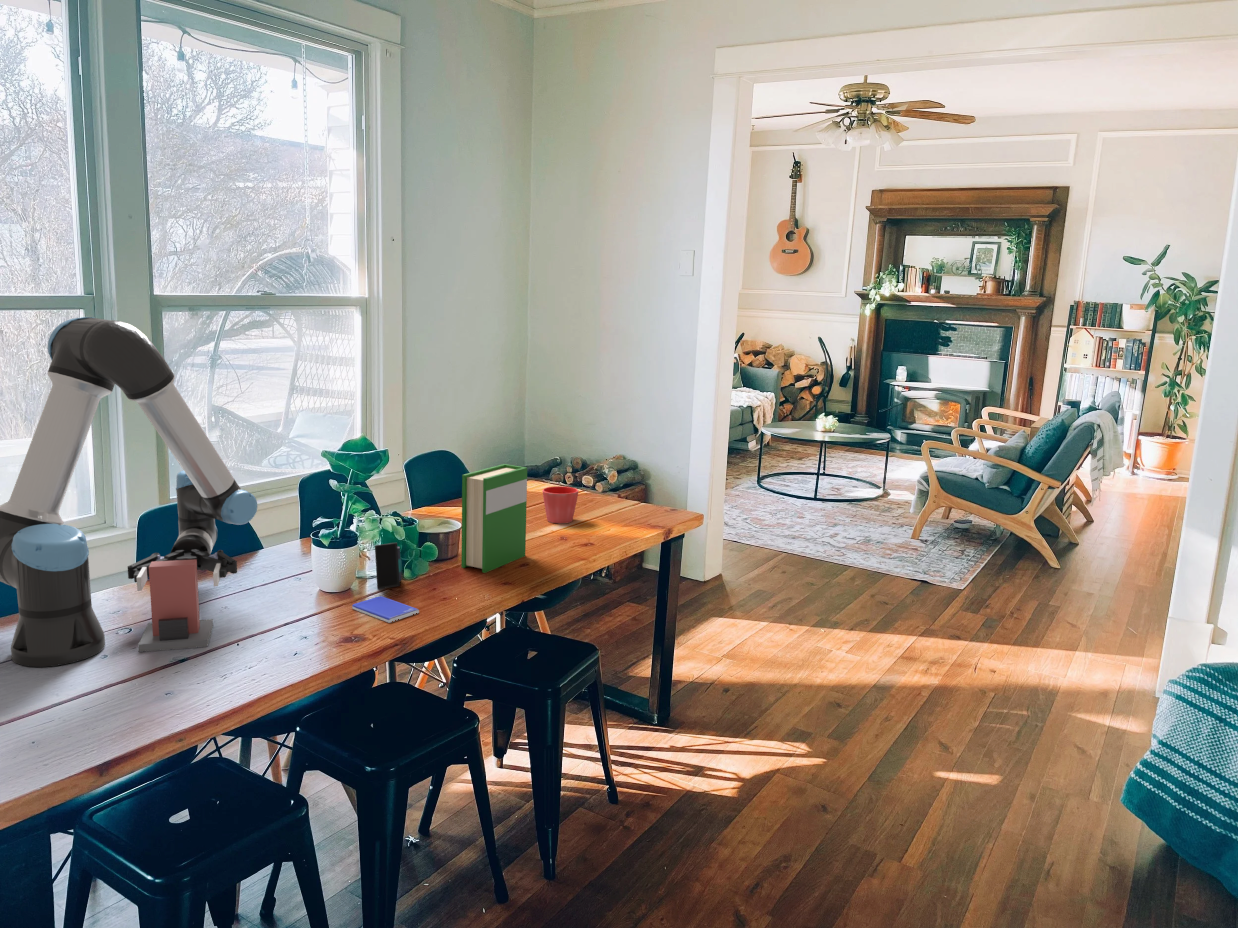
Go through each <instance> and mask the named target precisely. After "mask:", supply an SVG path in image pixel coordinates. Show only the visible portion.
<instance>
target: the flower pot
mask: <svg viewBox="0 0 1238 928" xmlns="http://www.w3.org/2000/svg"><path fill="white" fill-rule="evenodd" d="M541 491H542V497H543V505H544V510H545V515H546V520H547V522H548V523H552V524H569V523H572V522H573V520H574V516H575V512H576V511H575V510H576V506H577V502H578V497H579V489H578V488H576V487H570V486H560V485H558V486H556V485H555V486H554V485H553V486H548V487H545V488H542V490H541Z"/></svg>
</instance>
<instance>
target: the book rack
mask: <svg viewBox="0 0 1238 928" xmlns="http://www.w3.org/2000/svg"><path fill="white" fill-rule="evenodd" d="M158 623H159V636H153V629H152V622H151V623H147V625H146V627H145V629H144V631H143V634H142V635H141V638H140V640H139V642H138V645H137V647H138V652H139V653H144V652H143V651H146V652H155V651H156V652H157V651H169V650H170V649H172V650H182V649H183V650H184V649H194V648H196V649H197V647H198V648H208V646H209V643H210V639H211V636H212V633H213V628H214V619H212V618H211V619H210V618H208V619H200V628H199V631H198V633H190V634H189V629H188V617H182V618H167V619H159V621H158ZM170 651H171V650H170Z"/></svg>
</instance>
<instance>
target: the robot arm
mask: <svg viewBox="0 0 1238 928" xmlns="http://www.w3.org/2000/svg"><path fill="white" fill-rule="evenodd" d="M47 353H48V355H49V358H50V361H51V362H50V365H49V367H48V370H47V375H48V378H49V380H50V381H51V383H52V384H51V385H52V386H51V388H50V391H49V393H48V396H47V399H46V400H45V404H44V407H43V410H42V412H41V415H40V418H39V420H38V422H37V425H36V428H35V430H34V433H33V436H32V438H31V441H30V444H29V447H28V449H27V452H26V454H25V458H24V459H23V463H22V465H21V467H20V471H19V473H18V475H17V476H18V477H17V479H16V482H15V484H14V487H13V490H12V491H11V494H10V496H9V499H8V500H7V502H4V503H2V504H0V582H1V583H3V584H5V585H8V586H11V587H12V588H15V589H16V594H17V595H16V596H17V597H16V598H17V604H18V616H19V617H18V620H17V624H16V628H15V630H14V634H13V637H12V641H11V645H10V656H11V660H12V661H13V662H14V663H15V664H17V665H20V666H23V667H32V668H33V667H34V668H37V667H38V668H40V667H41V668H45V667H55V666H61V665H68V664H71V663H75V662H79V661H83V660H86V659H88V658H91V657H92V656H95V655H97V654H98V653H100V652H101V651H102V650H103V649H104V648H105V647H106V639H105V636H106V635H105V632H104V630H103V628H102V625H101V624H100V622H99V619H98V617H97V615H96V613H95V611H94V609H93V606H92V605H93V604H92V593H91V592H92V591H91V590H92V589H91V576H90V562H89V560H90V559H89V557H90V556H89V555H90V551H89V546H88V542H87V538H86V535H85V533H84V532H83V531H82V530H80V529H79V528H77V527H75V526H72V525H68V524H65V523H64V520H63V519H62V517H61V516H60V509H61V507H62V504H63V502H64V499H65V496H66V493H67V491H68V488H69V485H70V483H71V479H72V477H73V475H74V472H75V469H76V466H77V463H78V461H79V458H80V455H81V453H82V450H83V449H84V448H83V447H84V445H85V442H86V439H87V436H88V434H89V430H90V428H91V425H92V422H93V419H94V417H95V415H96V412H97V409H98V407H99V404H100V400H101V399H103V398H104V397H106V396H107V397H108V396H109V395H112V394H113V390H114V388H115V385H116V386H117V387H118V388H119V389H120V390H121V391H122V392H123V394H124V395H125V397H126V398H127V399H128V400H130V401H133V402H136V403H137V405H138V406H139V407H140V408H141V410H142V411H143V413H144V415H145V416H146V417H147V419H148V420H149V421H150V423H151V425H152V426H153V428H154V429H155V430H156V432H157V434H158V435H159V436H160V438H161V440H162V441H163V443H165V445H166V447H167V448H168V449H169V451H170V452H171V454H172V455H173V457H174V458H175V460H176V461H177V462H178V464H179V466H180V467H181V469H182V470H180V471H179V472H178V473H177V474H176V485H175V486H176V487H175V491H176V501H177V503H176V504H177V505H176V506H177V514H178V519H177V520H178V521H177V523H178V536H177V539H176V541H174V543H173V546H172V548H171V550H170V552H169V553H168V554H166V555H164V556H161V554H160V553H159V552H154V553H152V554H151V555H150V556H148V557H145V558H143V559H141V560H139V561H137V562H135V563H132V564H130V565H128V566H127V579H128V580H129V579H130V580H132V579H133V582H134V583H136V590H137V591H138V592H139V591H141V592H142V591H143V590H144V587H145V585H146V583H147V581H148V580H149V566H150V564H151V562H155V561H175V560H195V559H197V571H205V570H206V571H209V572H212V576H213V577H212V580H213V581H212V583H213V587H218V586H219V584H220V580H221V578H222V579H223V578H226V577H227V575H228V574H229V573H231V574H238V561H237V560H236V559H234V558H232V557H231V556H229V555H227V553H224V550H222V549H219V550H217V552H214V553H213V554H211V553H212V552H213V551H212V550H213V548H214V546H215V544H216V541H217V540H218V528H217V526H216V520H218V521H221V522H224V523H226V524H229V525H231V524H233V525H237V526H239V525H240V526H241V525H245V524H248V523H249V522H250V521H251V520H253V519H254V517H255V516H256V514H257V512H258V500H257V498H256V497H255V495H254V494H252V493H251V492H249V491H248V490H245V489H242V488H241V487H240V485H239V484H238V483H237V481H236V480H235V478H234V477H233V475H232V473H231V472H230V470H229V468H228V467H227V465H226V464H225V462H224V461H223V459H222V458H221V456H220V454H219V453H218V451H217V449H216V448H215V446H214V444H213V443H212V442H211V440H210V438H209V437H208V435H207V434H206V433H205V431H204V429H203V427H202V426H201V424H200V423H199V421H198V419H197V418H196V417H195V415H194V413H193V412H192V410H191V409H190V408H189V406H188V404H187V402H186V400H184V398H183V396H182V395H181V393H180V392H179V390H178V388H177V387H176V385H175V384H174V381H175V379H176V375H175V374H174V372H173V371H172V369H171V368H170V366H169V364H168V362H167V361H166V359H165V358H164V357H163V356H162V353H160V351H159V350H158V349H157V347H156V346H155V345H154V343H153V342H152V341H151V339H149V338H148V336H147V335H146V334H144V333H143V332H142V330H140V329H139V328H137V327H136V326H134V325H132V324H131V323H127V322H125V321H120V320H114V319H103V318H97V317H92V316H91V317H90V316H83V317H82V316H81V317H74V318H69V319H67V320H65V321H63V322H61V323H60V324H59V325H57V326H56V327H55V328H54V329H53V331H52V332H51V334H50V335H49V337H48V340H47Z"/></svg>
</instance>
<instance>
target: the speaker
mask: <svg viewBox="0 0 1238 928" xmlns="http://www.w3.org/2000/svg"><path fill="white" fill-rule="evenodd" d="M374 552H375V554H374V555H375V569H376V573H375V574H376V583H377V584H376V585H377V590H382V589H383V590H384V589H388V588H389V589H390V588H395V587H400V586H401V584H400V582H401V581H402V571H403V567H402V558H401V547H400V546H398V542H389V543H384V544H376V545H374Z"/></svg>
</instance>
